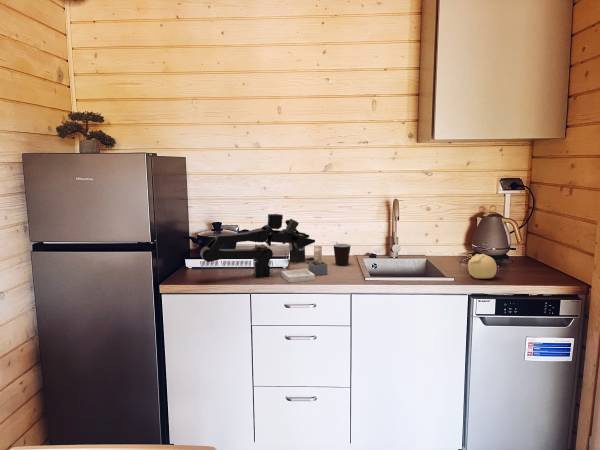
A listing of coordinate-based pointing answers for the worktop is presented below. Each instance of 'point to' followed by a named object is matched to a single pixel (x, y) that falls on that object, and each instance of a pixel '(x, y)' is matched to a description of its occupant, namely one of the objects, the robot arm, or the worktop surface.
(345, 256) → the black cup
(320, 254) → the maple pin
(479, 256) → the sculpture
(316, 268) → the pin cup
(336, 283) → the worktop surface
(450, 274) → the worktop surface
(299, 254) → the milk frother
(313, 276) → the tray
